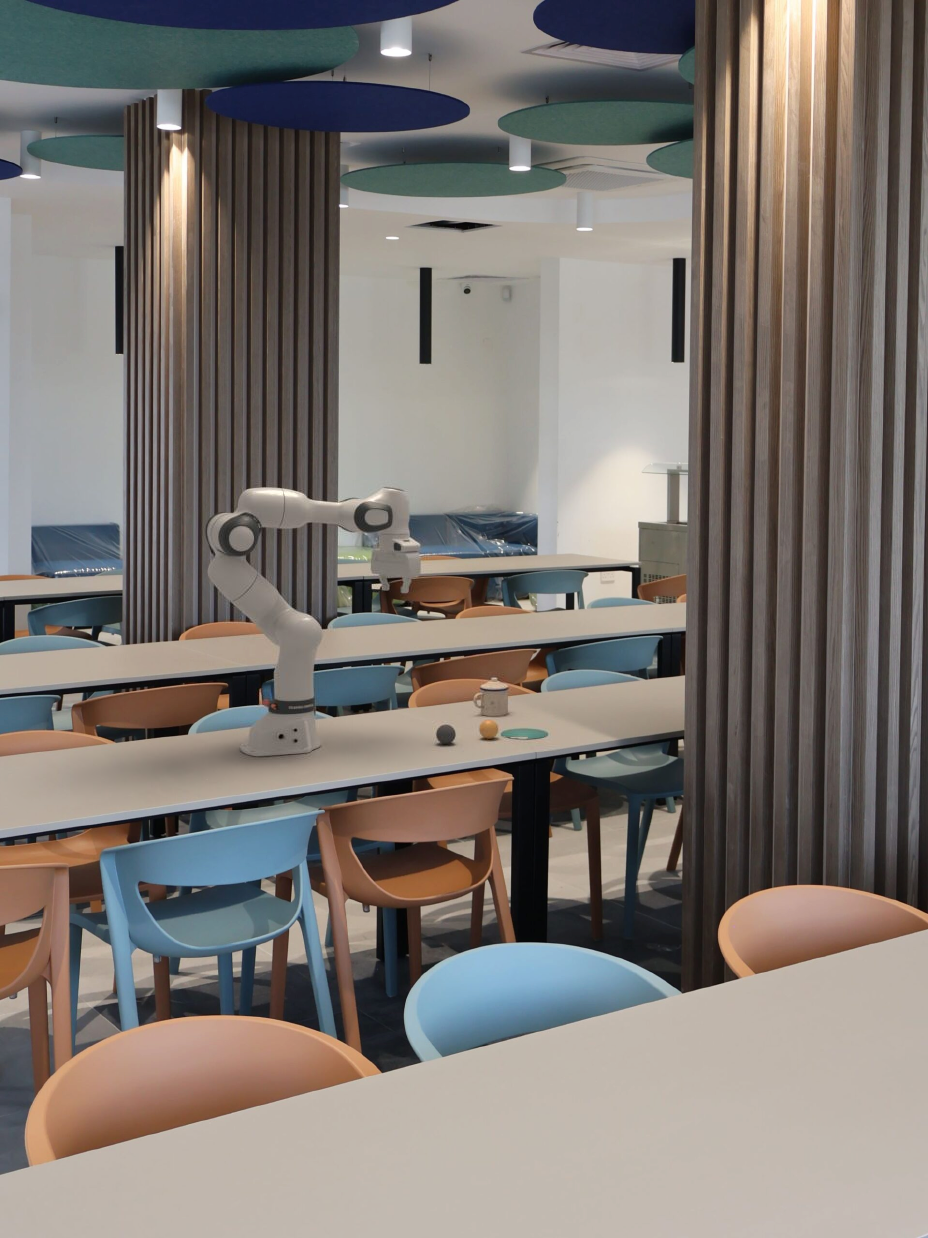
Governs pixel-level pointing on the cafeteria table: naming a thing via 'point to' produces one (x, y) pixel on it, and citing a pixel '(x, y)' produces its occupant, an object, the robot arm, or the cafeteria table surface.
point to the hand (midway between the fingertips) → (395, 591)
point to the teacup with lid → (493, 698)
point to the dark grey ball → (445, 734)
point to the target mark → (525, 733)
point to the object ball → (488, 729)
